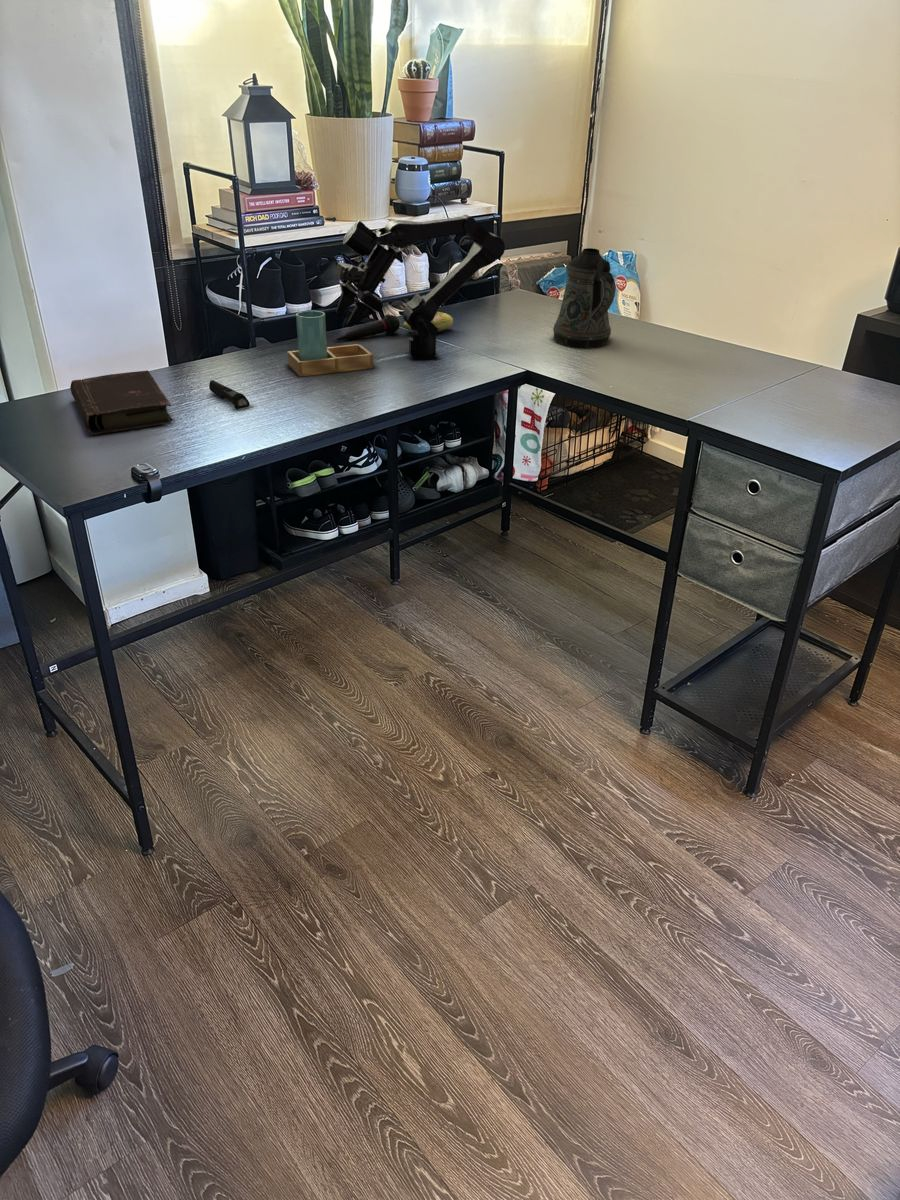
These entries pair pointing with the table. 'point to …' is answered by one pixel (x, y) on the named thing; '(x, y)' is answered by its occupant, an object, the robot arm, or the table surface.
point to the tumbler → (311, 335)
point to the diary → (120, 402)
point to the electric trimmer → (229, 395)
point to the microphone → (374, 328)
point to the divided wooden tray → (333, 361)
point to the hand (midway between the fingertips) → (342, 320)
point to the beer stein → (586, 302)
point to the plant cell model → (438, 321)
